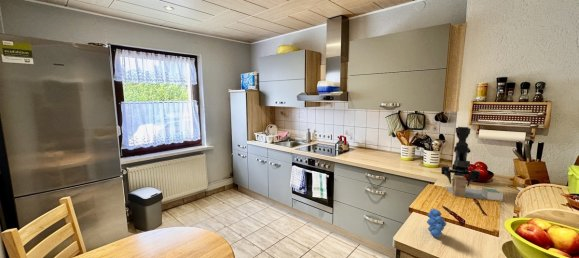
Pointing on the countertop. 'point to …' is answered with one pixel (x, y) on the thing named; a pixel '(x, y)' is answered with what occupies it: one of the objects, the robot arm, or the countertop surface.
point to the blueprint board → (481, 193)
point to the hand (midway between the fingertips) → (459, 185)
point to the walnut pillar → (459, 186)
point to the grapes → (435, 223)
